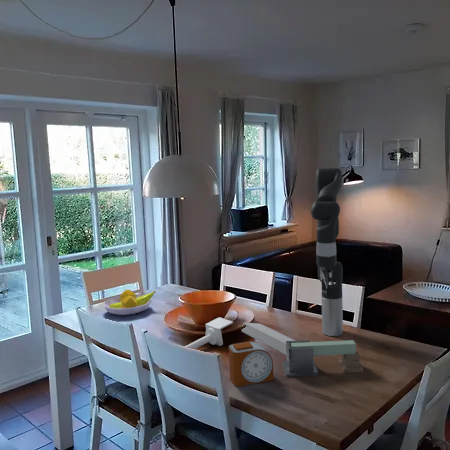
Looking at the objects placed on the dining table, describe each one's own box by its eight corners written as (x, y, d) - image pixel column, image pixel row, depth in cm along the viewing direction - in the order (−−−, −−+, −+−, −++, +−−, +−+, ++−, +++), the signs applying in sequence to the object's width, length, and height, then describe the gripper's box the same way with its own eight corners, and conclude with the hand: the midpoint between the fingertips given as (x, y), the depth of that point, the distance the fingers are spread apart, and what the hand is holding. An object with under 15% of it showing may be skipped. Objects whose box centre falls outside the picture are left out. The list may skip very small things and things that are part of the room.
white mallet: (232, 321, 207) (174, 351, 187) (235, 339, 209) (178, 371, 189) (219, 317, 214) (162, 345, 194) (222, 334, 216) (165, 364, 196)
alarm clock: (235, 387, 166) (234, 351, 164) (228, 377, 174) (227, 343, 172) (274, 380, 170) (273, 345, 168) (265, 371, 178) (264, 337, 177)
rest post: (338, 362, 183) (338, 348, 182) (356, 361, 183) (356, 347, 182) (344, 372, 174) (344, 357, 173) (363, 372, 174) (363, 356, 173)
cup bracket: (282, 364, 184) (281, 339, 182) (312, 362, 184) (312, 338, 182) (286, 376, 173) (285, 351, 171) (318, 375, 173) (317, 349, 171)
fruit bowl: (94, 318, 250) (92, 298, 248) (120, 303, 276) (118, 284, 274) (141, 321, 242) (140, 300, 240) (163, 305, 267) (162, 286, 266)
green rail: (291, 352, 179) (290, 342, 179) (353, 350, 179) (353, 340, 179) (292, 356, 176) (292, 346, 175) (355, 354, 176) (355, 343, 175)
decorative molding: (258, 333, 226) (241, 332, 221) (260, 323, 226) (243, 322, 221) (304, 357, 197) (286, 356, 191) (306, 345, 197) (288, 345, 191)
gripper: (312, 249, 185) (313, 288, 188) (320, 258, 171) (321, 300, 174) (331, 248, 185) (332, 288, 188) (340, 257, 171) (341, 299, 174)
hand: (326, 293), depth 181 cm, fingers open, 8 cm apart
